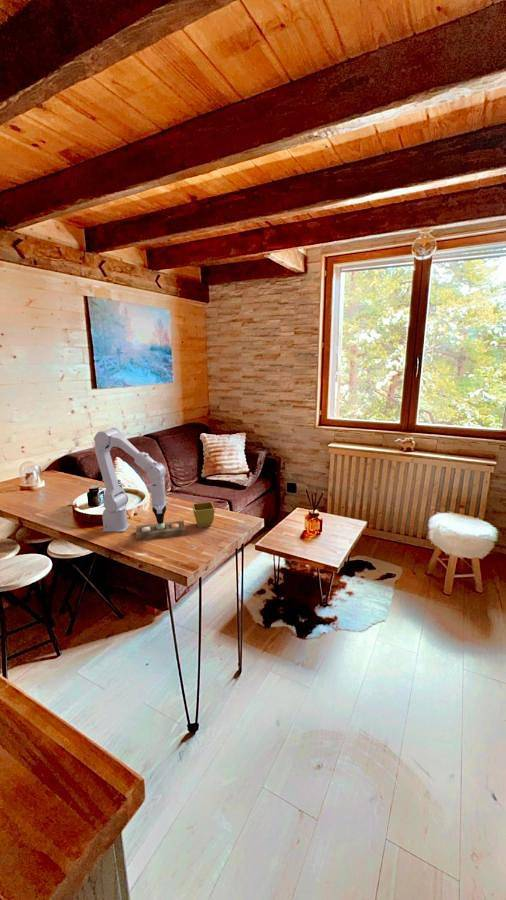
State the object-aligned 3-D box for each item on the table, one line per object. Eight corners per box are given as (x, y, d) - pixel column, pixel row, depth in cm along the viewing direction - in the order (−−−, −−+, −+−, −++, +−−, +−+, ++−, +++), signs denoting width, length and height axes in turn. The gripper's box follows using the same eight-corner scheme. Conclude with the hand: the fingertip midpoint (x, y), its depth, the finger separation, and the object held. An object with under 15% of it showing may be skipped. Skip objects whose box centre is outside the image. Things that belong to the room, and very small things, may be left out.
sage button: (156, 532, 159) (156, 526, 158) (156, 528, 162) (155, 523, 161) (165, 531, 160) (164, 525, 159) (164, 527, 163) (164, 522, 162)
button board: (136, 540, 154) (135, 535, 154) (136, 531, 163) (136, 525, 162) (185, 534, 159) (185, 529, 159) (183, 525, 168) (183, 520, 167)
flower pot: (195, 530, 164) (194, 510, 162) (193, 522, 172) (192, 503, 170) (215, 527, 166) (214, 508, 164) (212, 519, 174) (211, 501, 172)
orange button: (171, 532, 160) (170, 527, 160) (170, 529, 164) (170, 523, 163) (179, 531, 161) (179, 526, 161) (179, 528, 165) (178, 523, 164)
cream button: (141, 536, 157) (141, 530, 157) (142, 532, 161) (141, 527, 160) (150, 535, 158) (150, 529, 158) (150, 531, 162) (150, 526, 161)
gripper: (168, 497, 151) (170, 529, 154) (167, 486, 165) (169, 515, 168) (150, 499, 149) (153, 531, 153) (150, 488, 163) (152, 517, 166)
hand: (160, 523), depth 160 cm, fingers closed
